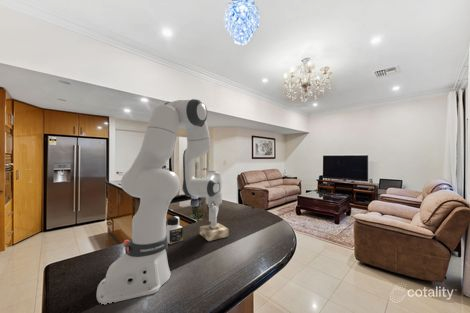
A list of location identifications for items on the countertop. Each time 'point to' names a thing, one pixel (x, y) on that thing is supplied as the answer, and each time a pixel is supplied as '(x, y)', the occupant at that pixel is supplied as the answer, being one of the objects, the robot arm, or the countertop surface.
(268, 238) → the countertop surface
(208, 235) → the socket block
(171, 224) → the medicine bottle
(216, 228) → the pin
